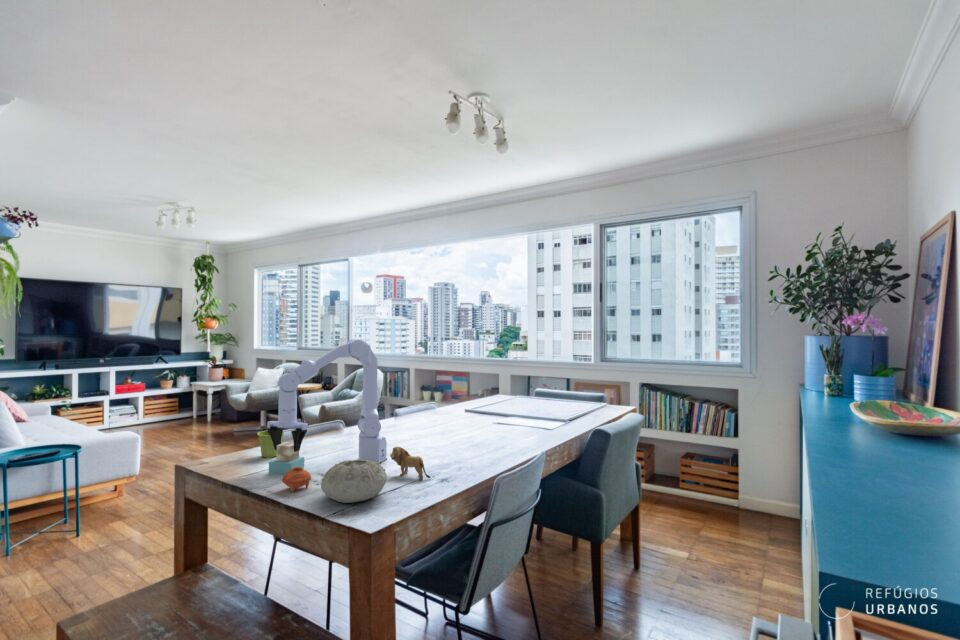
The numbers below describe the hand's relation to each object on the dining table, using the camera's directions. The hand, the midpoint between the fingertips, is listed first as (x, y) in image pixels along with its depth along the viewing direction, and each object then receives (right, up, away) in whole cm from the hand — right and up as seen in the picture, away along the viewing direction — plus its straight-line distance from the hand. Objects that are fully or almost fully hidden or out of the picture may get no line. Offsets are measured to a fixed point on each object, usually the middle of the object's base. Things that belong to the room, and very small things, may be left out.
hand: (287, 450), depth 159 cm
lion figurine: (+42, -7, -6) cm, 43 cm away
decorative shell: (+29, -7, -25) cm, 39 cm away
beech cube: (0, -3, 0) cm, 3 cm away
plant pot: (-13, -7, +18) cm, 24 cm away
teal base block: (0, -7, 0) cm, 7 cm away
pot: (+10, -7, -19) cm, 22 cm away
